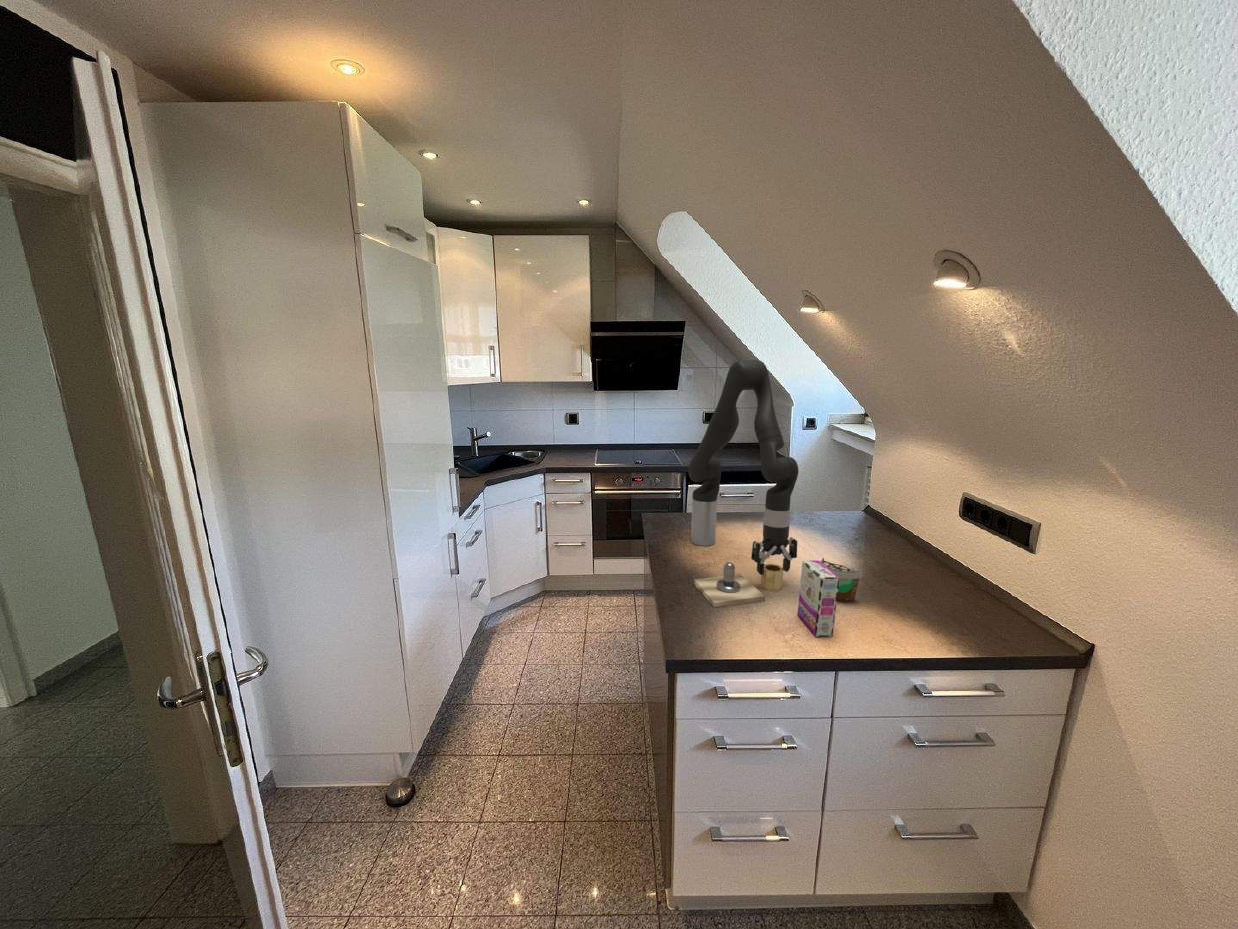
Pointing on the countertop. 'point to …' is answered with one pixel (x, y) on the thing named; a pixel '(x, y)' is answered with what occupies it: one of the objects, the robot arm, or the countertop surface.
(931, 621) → the countertop surface
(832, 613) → the candy bar box
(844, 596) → the food container
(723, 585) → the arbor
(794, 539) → the robot arm
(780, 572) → the collar
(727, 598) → the board
